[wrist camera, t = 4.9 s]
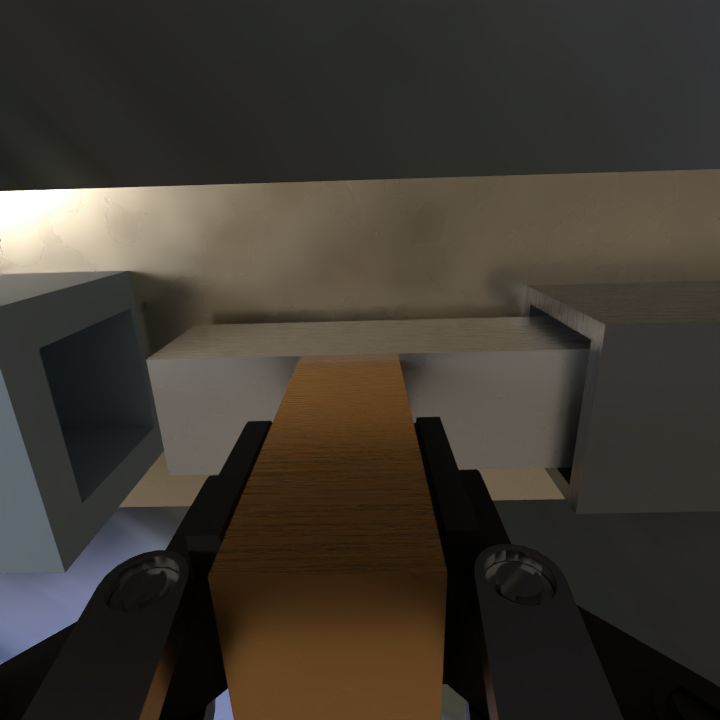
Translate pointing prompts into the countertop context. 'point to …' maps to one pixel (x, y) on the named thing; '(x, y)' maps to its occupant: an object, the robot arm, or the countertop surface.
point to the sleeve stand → (440, 293)
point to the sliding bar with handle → (353, 490)
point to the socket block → (69, 413)
